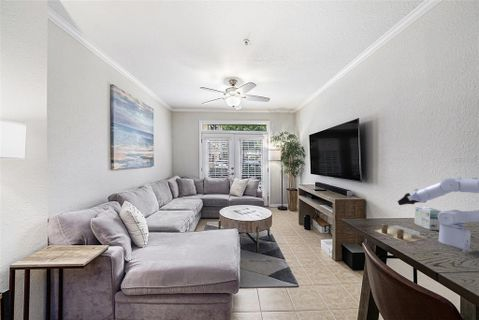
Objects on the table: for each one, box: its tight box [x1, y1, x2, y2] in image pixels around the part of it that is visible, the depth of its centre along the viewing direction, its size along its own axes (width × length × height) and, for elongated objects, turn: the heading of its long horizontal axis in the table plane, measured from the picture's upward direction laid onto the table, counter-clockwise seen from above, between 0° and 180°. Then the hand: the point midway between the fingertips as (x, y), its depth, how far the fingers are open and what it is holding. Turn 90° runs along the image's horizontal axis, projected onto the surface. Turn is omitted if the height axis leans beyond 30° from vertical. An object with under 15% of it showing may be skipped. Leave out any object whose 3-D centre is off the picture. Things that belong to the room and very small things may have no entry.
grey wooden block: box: [388, 224, 421, 238], centre depth 105 cm, size 10×7×2 cm
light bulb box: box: [413, 205, 442, 231], centre depth 121 cm, size 11×7×11 cm, turn 179°
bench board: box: [373, 223, 427, 243], centre depth 104 cm, size 15×16×5 cm
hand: (403, 202), depth 113 cm, fingers open, 7 cm apart
